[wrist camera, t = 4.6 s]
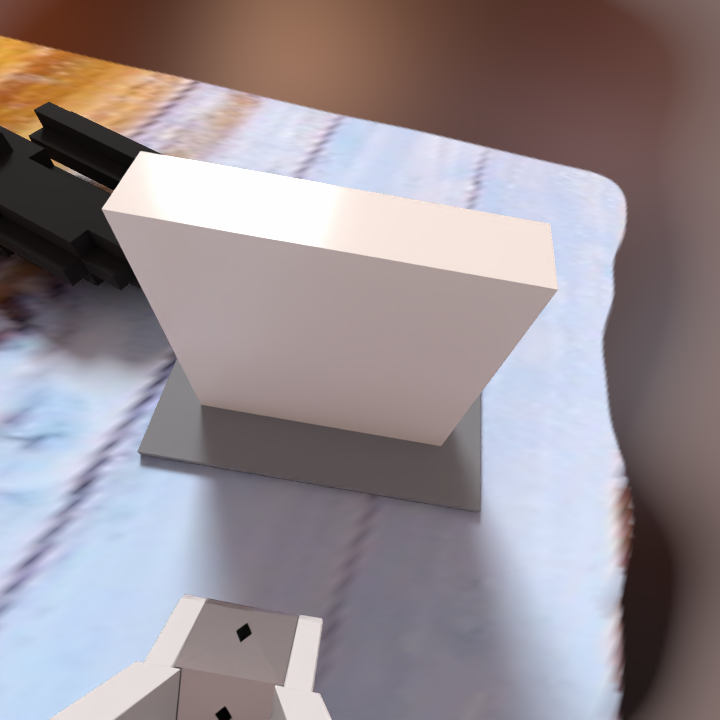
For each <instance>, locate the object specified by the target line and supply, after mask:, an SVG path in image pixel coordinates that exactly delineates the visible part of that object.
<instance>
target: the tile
mask: <svg viewBox="0 0 720 720" xmlns="http://www.w3.org/2000/svg"><path fill="white" fill-rule="evenodd" d="M102 211H103V213H104V215H105V217H106V219H107V221H108V223H109V224H110V226H111V228H112V230H113V232H114V234H115V236H116V238H117V240H118V242H119V244H120V246H121V248H122V250H123V252H124V254H125V256H126V258H127V260H128V262H129V264H130V266H131V268H132V270H133V272H134V274H135V276H136V278H137V280H138V282H139V284H140V286H141V288H142V290H143V292H144V294H145V296H146V297H147V299H148V301H149V303H150V305H151V307H152V309H153V311H154V313H155V315H156V317H157V319H158V321H159V323H160V325H161V327H162V329H163V331H164V333H165V335H166V337H167V339H168V341H169V343H170V345H171V347H172V349H173V351H174V353H175V355H176V357H177V359H178V361H179V363H180V365H181V367H182V368H183V370H184V372H185V374H186V376H187V378H188V380H189V382H190V384H191V386H192V388H193V390H194V392H195V394H196V396H197V398H198V400H199V402H200V404H201V405H205V406H211V407H217V408H222V409H228V410H234V411H240V412H246V413H251V414H257V415H263V416H269V417H275V418H280V419H286V420H292V421H298V422H303V423H309V424H315V425H321V426H327V427H332V428H338V429H344V430H350V431H356V432H361V433H367V434H373V435H379V436H385V437H390V438H396V439H402V440H408V441H413V442H419V443H425V444H431V445H437V446H442V444H443V443H444V442H445V440H446V439H447V438H448V436H449V435H450V434H451V432H452V431H453V429H454V428H455V427H456V425H457V424H458V423H459V421H460V420H461V419H462V417H463V416H464V415H465V413H466V412H467V411H468V409H469V408H470V407H471V405H472V404H473V403H474V401H475V400H476V399H477V397H478V396H479V395H480V393H481V392H482V391H483V389H484V388H485V387H486V385H487V384H488V383H489V381H490V380H491V379H492V377H493V376H494V375H495V373H496V372H497V371H498V369H499V368H500V366H501V365H502V364H503V362H504V361H505V360H506V358H507V357H508V356H509V354H510V353H511V352H512V350H513V349H514V348H515V346H516V345H517V344H518V342H519V341H520V340H521V338H522V337H523V336H524V334H525V333H526V332H527V330H528V329H529V328H530V326H531V325H532V324H533V322H534V321H535V320H536V318H537V317H538V316H539V314H540V313H541V312H542V310H543V309H544V308H545V306H546V305H547V303H548V302H549V301H550V299H551V298H552V297H553V295H554V294H555V293H556V291H557V290H558V286H557V277H556V269H555V261H554V252H553V244H552V235H551V227H550V224H548V223H543V222H537V221H531V220H526V219H520V218H514V217H509V216H503V215H498V214H492V213H486V212H481V211H475V210H469V209H464V208H458V207H453V206H447V205H441V204H436V203H430V202H424V201H419V200H413V199H407V198H402V197H396V196H391V195H385V194H379V193H374V192H368V191H362V190H357V189H351V188H346V187H340V186H334V185H329V184H323V183H317V182H312V181H306V180H301V179H295V178H289V177H284V176H278V175H272V174H267V173H261V172H256V171H250V170H244V169H239V168H233V167H227V166H222V165H216V164H210V163H205V162H199V161H194V160H188V159H182V158H177V157H171V156H165V155H160V154H154V153H149V152H143V151H140V152H139V154H138V155H137V157H136V158H135V160H134V161H133V163H132V164H131V166H130V167H129V169H128V170H127V172H126V173H125V175H124V176H123V178H122V179H121V181H120V182H119V184H118V185H117V187H116V188H115V190H114V191H113V193H112V194H111V196H110V197H109V199H108V200H107V202H106V203H105V205H104V206H103V208H102Z"/></svg>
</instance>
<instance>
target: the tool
mask: <svg viewBox="0 0 720 720" xmlns="http://www.w3.org/2000/svg"><path fill="white" fill-rule="evenodd" d="M34 111H35V113H36V115H37V116H38V118H39V120H40V122H41V124H42V126H43V128H41V129H40V130H38V131H36V132H34V133H32V134H31V135H29V137H30V139H31V141H32V142H31V141H29V140H27V139H25V138H23V137H21V136H19V135H17V134H15V133H13V132H11V131H9V130H7V129H5V128H3V127H1V126H0V252H1V253H2V254H4V255H6V256H8V257H9V256H11V255H12V254H13V253H16V254H18V255H19V256H21V257H23V258H25V259H26V260H28V261H30V262H32V263H33V264H35V265H37V266H39V267H40V268H42V269H44V270H46V271H48V272H49V273H51V274H53V275H55V276H56V277H58V278H60V279H62V280H63V281H65V282H67V283H69V284H70V285H72V286H74V285H75V284H76V283H77V282H79V281H80V280H81V279H82V278H84V279H86V280H88V281H90V282H92V283H93V284H95V285H97V286H99V285H100V284H101V283H102V282H103V281H105V282H107V283H109V284H111V285H112V286H114V287H116V288H118V289H120V290H122V289H123V288H125V287H126V286H127V285H128V284H129V283H131V284H133V285H135V286H136V287H138V288H140V289H142V288H141V286H140V284H139V282H138V280H137V278H136V276H135V274H134V272H133V270H132V268H131V266H130V264H129V262H128V260H127V258H126V256H125V254H124V252H123V250H122V248H121V246H120V244H119V242H118V240H117V238H116V236H115V234H114V232H113V230H112V228H111V226H110V224H109V223H108V221H107V219H106V217H105V215H104V213H103V211H102V208H103V206H104V205H105V203H106V202H107V200H108V199H109V197H110V196H111V194H109V193H107V192H105V191H103V190H101V189H100V188H98V187H96V186H94V185H92V184H90V183H88V182H86V181H84V180H82V179H80V178H78V177H76V176H74V175H72V174H70V173H68V172H66V171H64V170H62V169H60V168H58V167H56V166H54V164H53V163H52V161H51V159H53V160H55V161H57V162H59V163H61V164H63V165H65V166H67V167H69V168H70V169H72V170H74V171H76V172H78V173H80V174H82V175H84V176H86V177H88V178H90V179H92V180H94V181H96V182H98V183H100V184H102V185H104V186H106V187H108V188H110V189H112V190H115V188H116V187H117V185H118V184H119V182H120V181H121V179H122V178H123V176H124V175H125V173H126V172H127V170H128V169H129V167H130V166H131V164H132V163H133V161H134V160H135V158H136V157H137V155H138V154H139V152H140V151H143V152H149V153H154V154H160V153H158V152H156V151H154V150H152V149H149V148H147V147H145V146H143V145H141V144H139V143H137V142H135V141H133V140H131V139H128V138H126V137H124V136H122V135H120V134H118V133H116V132H114V131H112V130H110V129H107V128H105V127H103V126H101V125H99V124H97V123H95V122H93V121H91V120H89V119H86V118H84V117H82V116H80V115H78V114H76V113H74V112H72V111H71V112H69V111H67V110H65V109H63V108H61V107H59V106H57V105H55V104H52V103H50V102H48V103H46V104H44V105H42V106H40V107H38V108H36V109H35V110H34ZM160 155H162V154H160ZM50 158H51V159H50Z"/></svg>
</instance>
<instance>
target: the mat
mask: <svg viewBox="0 0 720 720" xmlns="http://www.w3.org/2000/svg"><path fill="white" fill-rule="evenodd" d="M480 443H481V393H480V395H479V396H478V397H477V399H476V400H475V401H474V403H473V404H472V405H471V407H470V408H469V409H468V411H467V412H466V413H465V415H464V416H463V417H462V419H461V420H460V421H459V423H458V424H457V425H456V427H455V428H454V429H453V431H452V432H451V434H450V435H449V436H448V438H447V439H446V440H445V442H444V443H443V444H442V446H437V445H431V444H425V443H419V442H413V441H408V440H402V439H396V438H390V437H385V436H379V435H373V434H367V433H361V432H356V431H350V430H344V429H338V428H332V427H327V426H321V425H315V424H309V423H303V422H298V421H292V420H286V419H280V418H275V417H269V416H263V415H257V414H251V413H246V412H240V411H234V410H228V409H222V408H217V407H211V406H205V405H201V404H200V402H199V400H198V398H197V396H196V394H195V392H194V390H193V388H192V386H191V384H190V382H189V380H188V378H187V376H186V374H185V372H184V370H183V368H182V367H181V365H180V363H179V361H178V359H177V360H176V362H175V364H174V367H173V369H172V371H171V374H170V376H169V379H168V381H167V383H166V386H165V388H164V390H163V393H162V395H161V397H160V400H159V402H158V404H157V407H156V409H155V412H154V414H153V416H152V419H151V421H150V423H149V426H148V428H147V430H146V433H145V435H144V437H143V440H142V442H141V445H140V447H139V449H138V453H139V454H141V455H147V456H153V457H158V458H164V459H170V460H176V461H182V462H188V463H193V464H199V465H205V466H211V467H217V468H223V469H228V470H234V471H240V472H246V473H252V474H258V475H263V476H269V477H275V478H281V479H287V480H293V481H298V482H304V483H310V484H316V485H322V486H328V487H333V488H339V489H345V490H351V491H357V492H363V493H368V494H374V495H380V496H386V497H392V498H398V499H403V500H409V501H415V502H421V503H427V504H433V505H438V506H444V507H450V508H456V509H462V510H468V511H473V512H479V511H480Z"/></svg>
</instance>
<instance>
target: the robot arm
mask: <svg viewBox="0 0 720 720" xmlns="http://www.w3.org/2000/svg"><path fill="white" fill-rule="evenodd" d="M298 619H299V620H298ZM322 626H323V620H322V618H317V617H311V616H304V615H300V616H299V615H297V614H291V613H285V612H279V611H273V610H267V609H261V608H255V607H254V608H253V607H248V606H243V605H238V604H233V603H228V602H223V601H218V600H213V599H205V598H201V597H196V596H191V595H186V594H185V595H184V596H183V597H182V598H181V599H180V600H179V602H178V603H177V605H176V607H175V608H174V610H173V612H172V614H171V615H170V617H169V619H168V621H167V622H166V624H165V626H164V628H163V629H162V631H161V633H160V635H159V636H158V638H157V640H156V642H155V643H154V645H153V647H152V649H151V650H150V652H149V654H148V656H147V657H146V659H145V661H144V662H137V661H136V662H134V663H133V664H131V665H130V666H128V667H127V668H125V669H124V670H122V671H121V672H119V673H118V674H116V675H115V676H113V677H112V678H110V679H109V680H107V681H106V682H104V683H103V684H101V685H100V686H98V687H97V688H95V689H94V690H92V691H91V692H89V693H88V694H86V695H85V696H83V697H82V698H80V699H79V700H77V701H76V702H74V703H73V704H71V705H70V706H68V707H67V708H65V709H64V710H62V711H61V712H59V713H58V714H56V715H55V716H53V717H52V718H50V719H49V720H332V719H331V716H330V714H329V712H328V710H327V708H326V705H325V703H324V701H323V699H322V696H321V694H320V693H315V692H313V687H314V681H315V674H316V667H317V660H318V653H319V646H320V639H321V633H322Z"/></svg>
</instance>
